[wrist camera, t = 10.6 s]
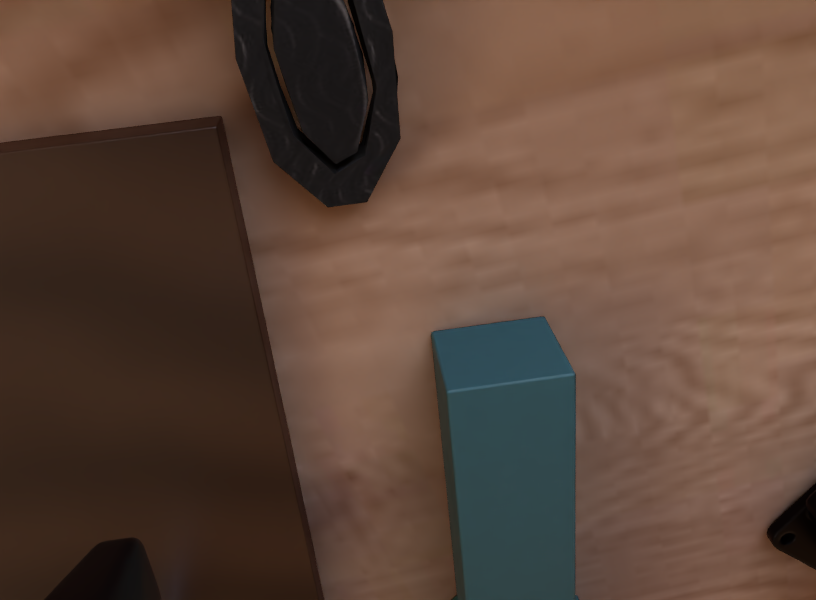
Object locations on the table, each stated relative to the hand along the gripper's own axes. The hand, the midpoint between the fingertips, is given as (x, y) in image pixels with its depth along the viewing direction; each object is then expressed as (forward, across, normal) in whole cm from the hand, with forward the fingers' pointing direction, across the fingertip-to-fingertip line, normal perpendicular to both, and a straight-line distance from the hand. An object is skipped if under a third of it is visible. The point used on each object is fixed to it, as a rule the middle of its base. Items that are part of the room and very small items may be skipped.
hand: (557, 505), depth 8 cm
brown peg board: (+12, +10, +8) cm, 17 cm away
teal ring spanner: (+12, -1, +12) cm, 17 cm away
